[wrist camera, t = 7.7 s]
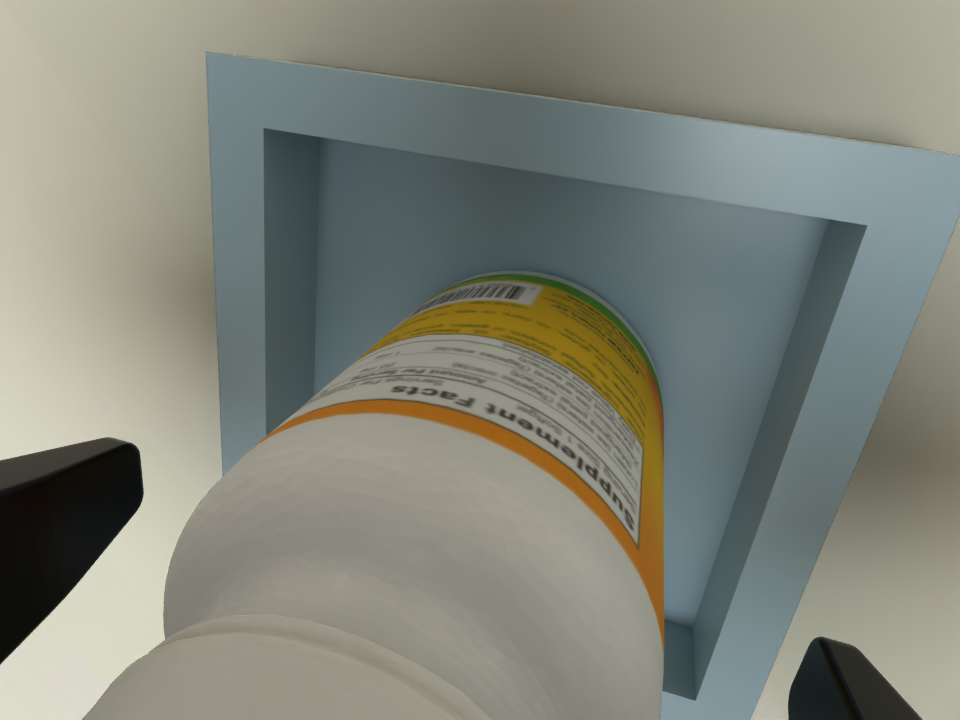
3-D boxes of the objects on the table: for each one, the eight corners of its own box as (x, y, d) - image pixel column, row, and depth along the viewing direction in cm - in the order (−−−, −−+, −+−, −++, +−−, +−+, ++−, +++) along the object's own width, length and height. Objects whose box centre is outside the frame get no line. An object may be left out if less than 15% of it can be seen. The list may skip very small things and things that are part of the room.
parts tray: (914, 147, 10) (982, 159, 8) (725, 654, 15) (735, 754, 12) (289, 61, 12) (206, 52, 10) (286, 526, 17) (227, 591, 15)
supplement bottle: (553, 555, 14) (375, 1285, 5) (354, 410, 14) (-147, 909, 5) (727, 380, 12) (902, 1178, 3) (488, 205, 12) (-22, 507, 3)
